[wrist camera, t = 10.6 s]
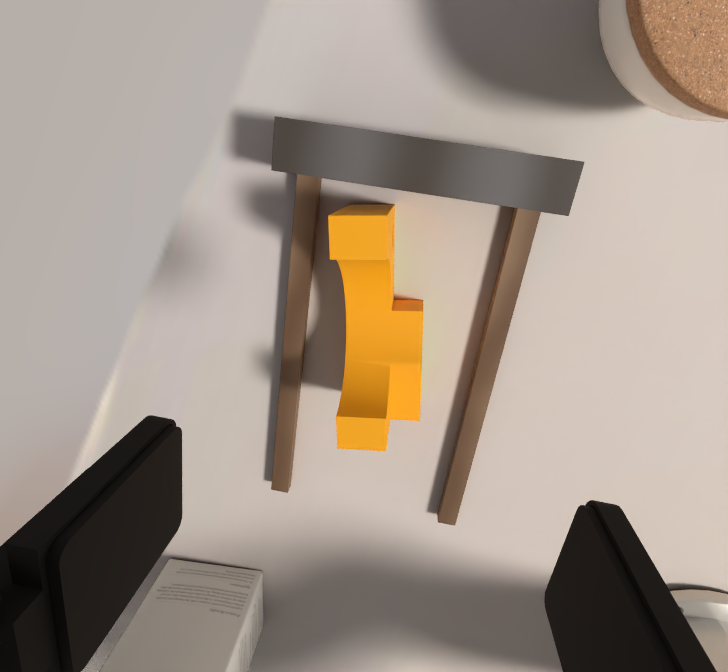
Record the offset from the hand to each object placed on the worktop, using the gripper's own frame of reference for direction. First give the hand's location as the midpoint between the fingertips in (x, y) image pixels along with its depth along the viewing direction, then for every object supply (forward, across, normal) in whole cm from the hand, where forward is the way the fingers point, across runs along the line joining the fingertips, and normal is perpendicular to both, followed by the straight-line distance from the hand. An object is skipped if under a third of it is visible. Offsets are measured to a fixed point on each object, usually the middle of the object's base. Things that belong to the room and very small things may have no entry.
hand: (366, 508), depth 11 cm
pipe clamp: (+18, +1, 0) cm, 18 cm away
